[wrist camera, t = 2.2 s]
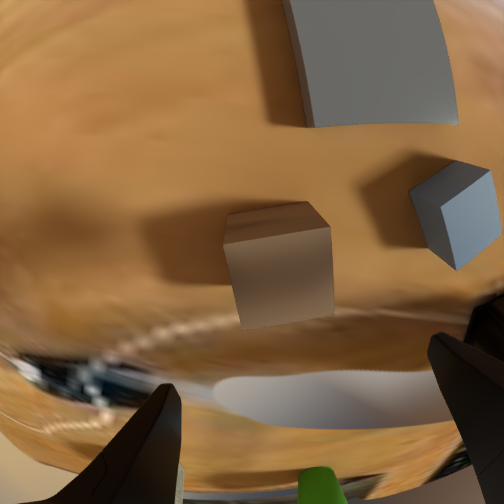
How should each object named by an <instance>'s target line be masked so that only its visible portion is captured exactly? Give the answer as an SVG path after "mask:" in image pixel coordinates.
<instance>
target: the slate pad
mask: <svg viewBox="0 0 504 504" xmlns="http://www.w3.org/2000/svg"><path fill="white" fill-rule="evenodd" d="M282 4H283V8H284V12H285V16H286V20H287V25H288V29H289V34H290V38H291V43H292V48H293V53H294V58H295V63H296V68H297V73H298V78H299V84H300V89H301V95H302V101H303V107H304V113H305V119H306V126H307V128H318V127H329V126H342V125H358V124H383V123H431V124H454V125H459V121H458V111H457V103H456V95H455V88H454V82H453V76H452V70H451V65H450V60H449V56H448V51H447V47H446V43H445V39H444V35H443V31H442V27H441V24H440V20H439V17H438V14H437V11H436V8H435V5H434V2H433V0H282Z"/></svg>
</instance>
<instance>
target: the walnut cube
mask: <svg viewBox="0 0 504 504" xmlns="http://www.w3.org/2000/svg"><path fill="white" fill-rule="evenodd" d="M223 248H224V253H225V257H226V262H227V266H228V271H229V275H230V279H231V284H232V288H233V292H234V297H235V301H236V305H237V309H238V314H239V318H240V322H241V326H242V330H243V331H245V330H251V329H258V328H264V327H270V326H277V325H282V324H288V323H294V322H299V321H305V320H310V319H315V318H320V317H325V316H330V315H335V312H334V278H333V258H332V241H331V227H330V226H329V224H328V223H327V222H326V221H325V220H324V219H323V218H322V217H321V215H320V214H319V213H318V212H317V211H316V210H315V209H314V208H313V206H312V205H311V204H310V203H309V202H301V203H295V204H288V205H282V206H276V207H270V208H264V209H258V210H252V211H246V212H240V213H234V214H229V215H227V220H226V227H225V233H224V239H223Z"/></svg>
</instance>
